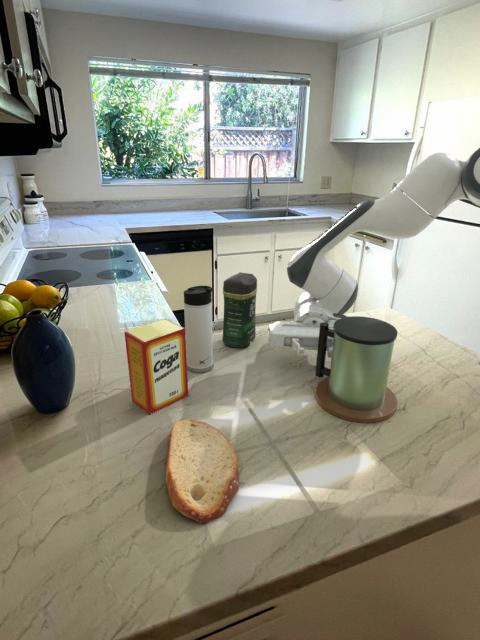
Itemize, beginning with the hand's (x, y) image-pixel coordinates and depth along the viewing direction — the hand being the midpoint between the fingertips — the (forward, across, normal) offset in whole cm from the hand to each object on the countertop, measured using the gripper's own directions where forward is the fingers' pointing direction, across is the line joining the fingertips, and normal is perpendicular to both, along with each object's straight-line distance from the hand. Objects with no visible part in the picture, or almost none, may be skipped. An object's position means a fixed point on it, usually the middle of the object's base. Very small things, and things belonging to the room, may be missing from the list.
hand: (316, 353), depth 83 cm
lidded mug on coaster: (+4, +8, +8) cm, 12 cm away
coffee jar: (-23, -18, +10) cm, 31 cm away
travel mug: (-8, -26, +10) cm, 29 cm away
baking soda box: (+6, -32, +10) cm, 34 cm away
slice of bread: (+25, -20, +9) cm, 34 cm away
